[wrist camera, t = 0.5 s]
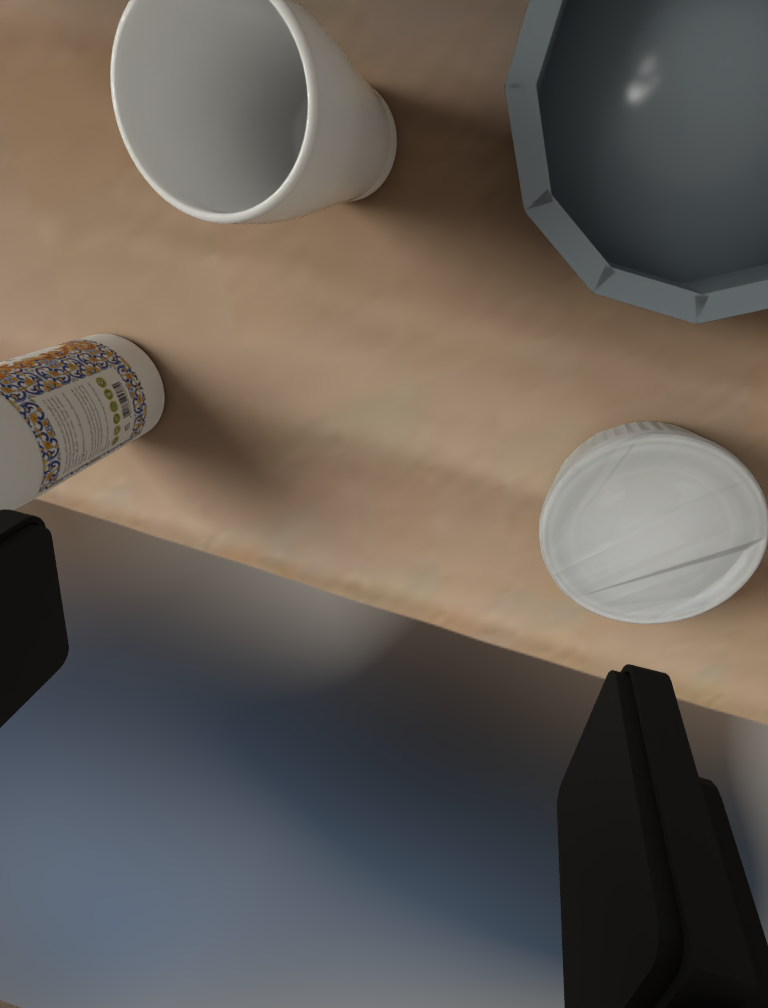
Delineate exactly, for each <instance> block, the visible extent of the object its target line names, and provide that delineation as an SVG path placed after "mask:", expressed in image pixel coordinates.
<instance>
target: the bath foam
mask: <svg viewBox="0 0 768 1008" xmlns="http://www.w3.org/2000/svg"><path fill="white" fill-rule="evenodd" d="M164 402H165V394H164V387H163V383H162V380H161V377H160V374H159V372H158V370H157V368H156V367H155V365H154V363H153V362H152V361H151V359H150V358H149V357H148V356H147V355H146V353H145V352H144V351H143V350H141V349H140V348H139V347H138V346H136V345H135V344H134V343H132V342H130V341H129V340H127V339H125V338H122V337H120V336H116V335H112V334H95V335H91V336H87V337H84V338H81V339H77V340H73V341H69V342H66V343H63V344H59V345H56V346H52V347H49V348H46V349H42V350H39V351H36V352H32V353H29V354H26V355H22V356H19V357H15V358H12V359H9V360H5V361H2V362H0V510H2V509H9V510H13V509H16V508H18V507H20V506H22V505H24V504H26V503H28V502H29V501H31V500H33V499H35V498H36V497H38V496H40V495H42V494H43V493H45V492H47V491H48V490H50V489H52V488H53V487H55V486H57V485H59V484H60V483H62V482H64V481H65V480H67V479H69V478H70V477H72V476H74V475H76V474H77V473H79V472H81V471H82V470H84V469H86V468H87V467H89V466H91V465H93V464H94V463H96V462H98V461H99V460H101V459H103V458H104V457H106V456H108V455H110V454H111V453H113V452H115V451H116V450H118V449H120V448H121V447H123V446H125V445H127V444H128V443H130V442H132V441H133V440H135V439H137V438H138V437H140V436H142V435H143V434H145V433H147V432H148V431H150V430H151V429H152V428H153V427H154V426H155V425H156V424H157V422H158V421H159V419H160V417H161V415H162V412H163V409H164Z"/></svg>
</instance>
